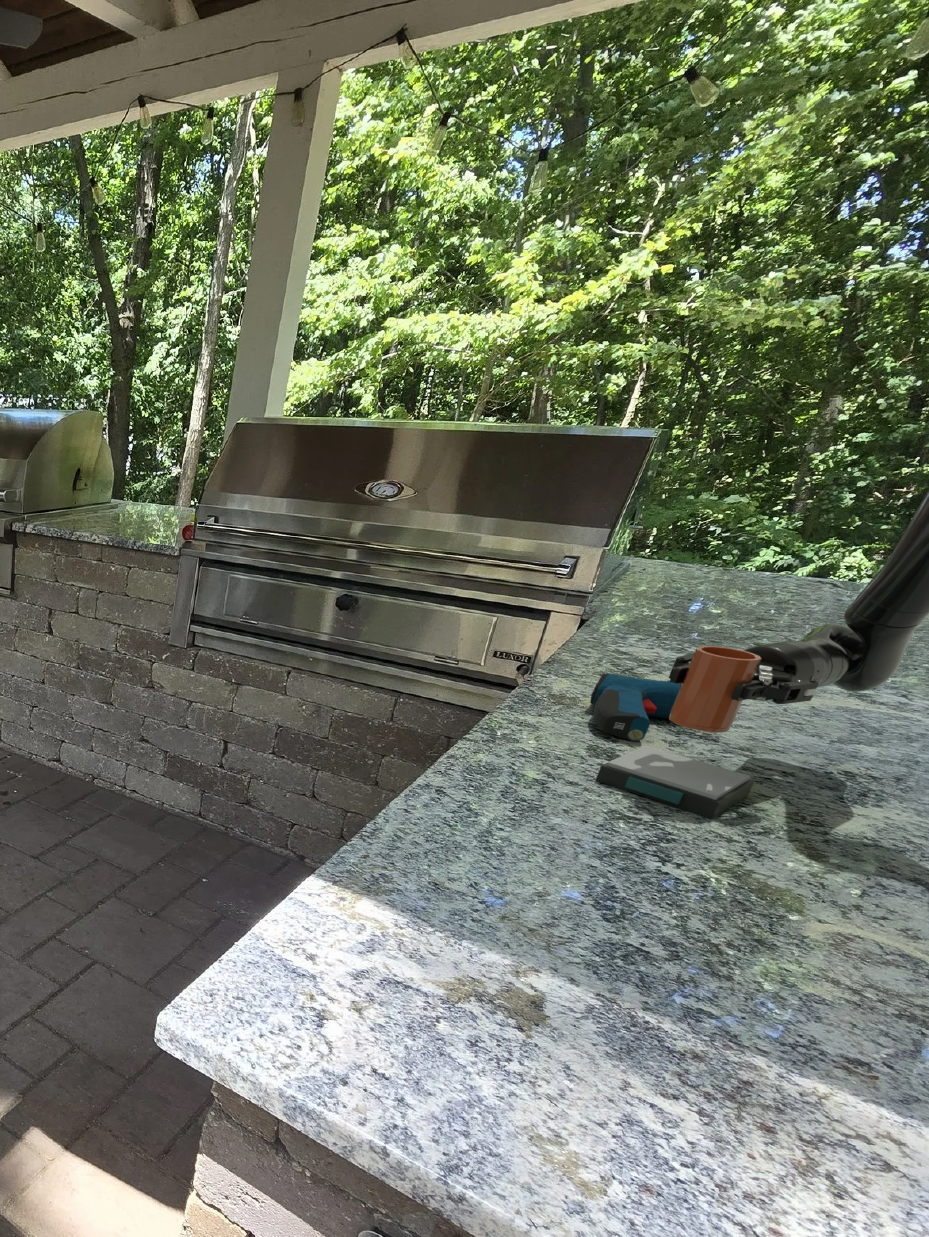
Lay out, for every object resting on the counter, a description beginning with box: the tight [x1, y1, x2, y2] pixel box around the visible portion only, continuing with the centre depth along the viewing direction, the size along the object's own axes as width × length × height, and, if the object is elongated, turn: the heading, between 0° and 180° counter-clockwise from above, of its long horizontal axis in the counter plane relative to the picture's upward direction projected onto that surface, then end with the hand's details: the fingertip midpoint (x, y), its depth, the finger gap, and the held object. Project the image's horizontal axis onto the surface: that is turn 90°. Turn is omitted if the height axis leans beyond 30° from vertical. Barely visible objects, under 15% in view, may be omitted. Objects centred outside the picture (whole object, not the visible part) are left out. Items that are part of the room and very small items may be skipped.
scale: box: [595, 745, 756, 820], centre depth 111 cm, size 13×14×3 cm
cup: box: [669, 645, 761, 733], centre depth 106 cm, size 6×6×10 cm
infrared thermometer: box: [589, 672, 682, 742], centre depth 133 cm, size 6×13×20 cm
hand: (705, 683), depth 105 cm, fingers closed on cup, 6 cm apart
